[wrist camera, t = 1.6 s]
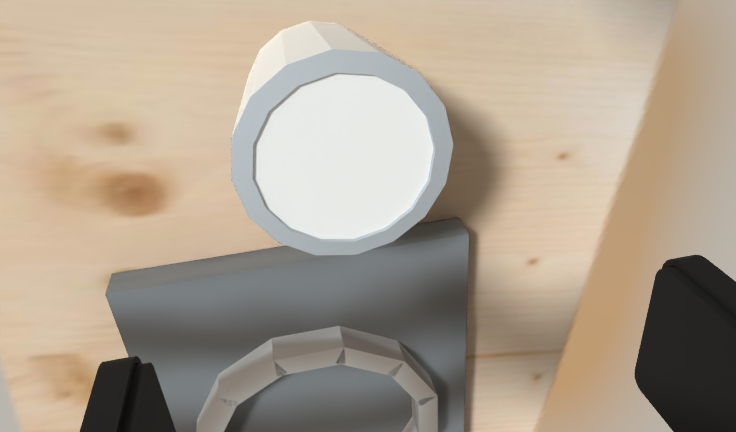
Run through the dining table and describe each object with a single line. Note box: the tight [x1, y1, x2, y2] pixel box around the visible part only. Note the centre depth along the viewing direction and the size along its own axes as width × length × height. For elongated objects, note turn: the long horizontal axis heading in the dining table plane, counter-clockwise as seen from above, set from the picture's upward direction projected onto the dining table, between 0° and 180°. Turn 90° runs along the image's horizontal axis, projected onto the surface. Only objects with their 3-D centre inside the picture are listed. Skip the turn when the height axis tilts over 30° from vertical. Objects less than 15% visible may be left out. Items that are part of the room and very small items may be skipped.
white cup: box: [231, 21, 453, 255], centre depth 21 cm, size 7×7×7 cm
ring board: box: [105, 218, 469, 432], centre depth 31 cm, size 20×16×3 cm
